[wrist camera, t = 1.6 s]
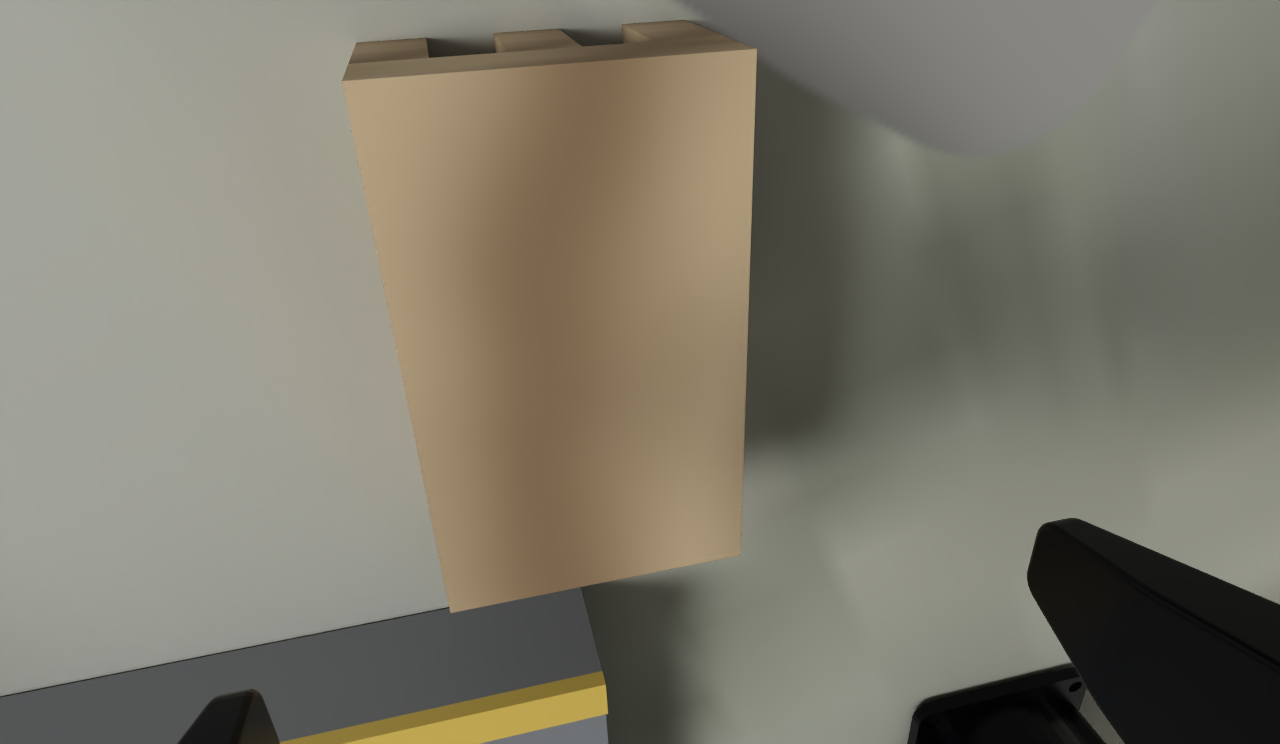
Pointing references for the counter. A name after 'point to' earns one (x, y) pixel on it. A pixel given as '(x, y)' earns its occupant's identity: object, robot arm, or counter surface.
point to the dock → (361, 685)
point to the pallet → (566, 295)
